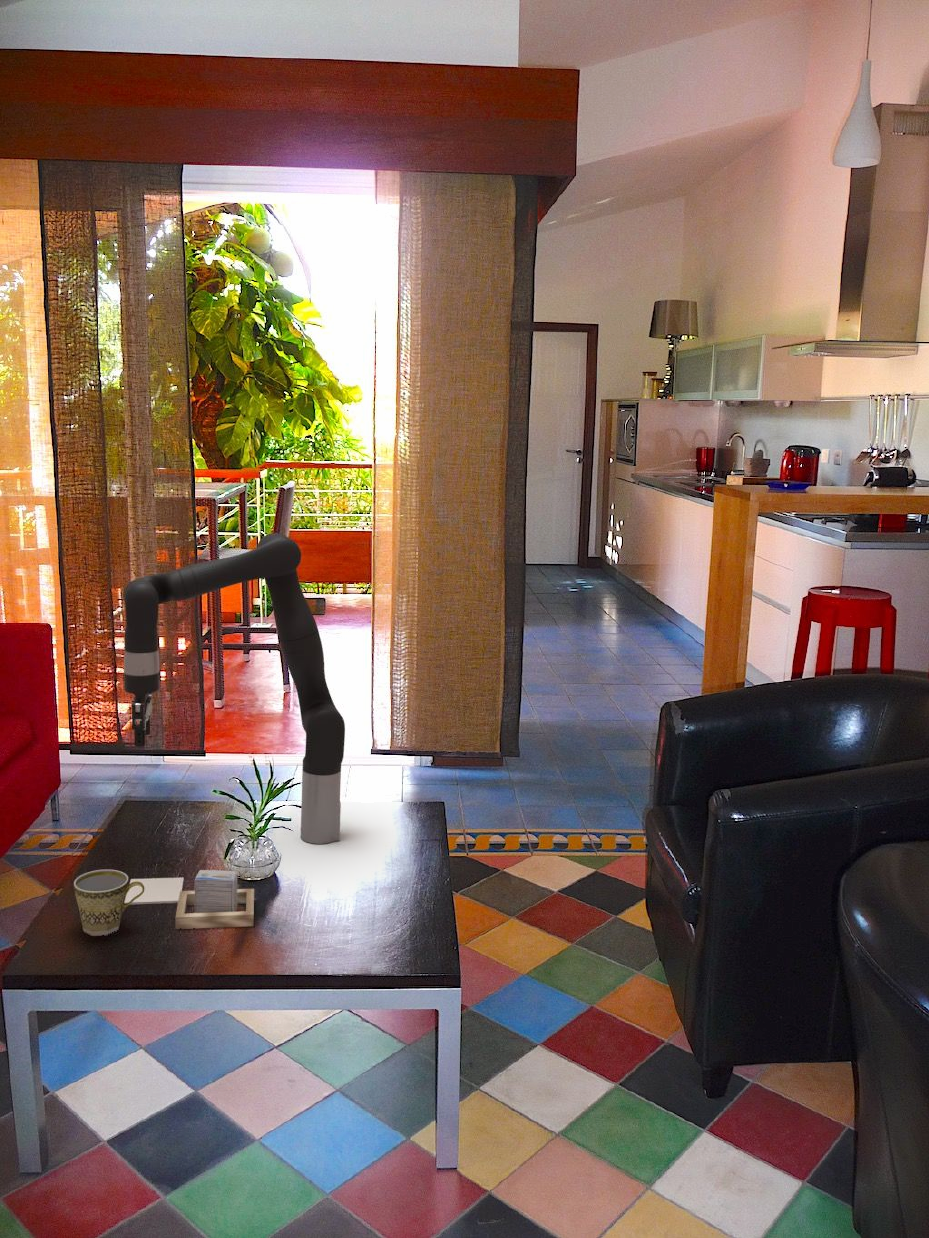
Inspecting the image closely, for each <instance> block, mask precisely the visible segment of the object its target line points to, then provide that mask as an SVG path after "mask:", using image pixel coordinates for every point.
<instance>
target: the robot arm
mask: <svg viewBox="0 0 929 1238" xmlns="http://www.w3.org/2000/svg"><path fill="white" fill-rule="evenodd" d="M301 561H302V551H301V549H300V547H299V545H298V544H297V542H296V541H295V540H293V538H291V537H289V536H286V535H285V534H282V533H276V532H273V533H272V532H271V533H268V534H265V535H263V537H262V538H260V540H259V541H258V543H257V545H256V547H255V548H253V549H251V550H249V551H246V552H243V553H240V554H237V555H233V556H228V557H224V558H218V559H212V560H207V561H201V562H198V563H197V562H196V563H193V564H189V565H186V566H183V567H180V568H177V569H173V570H171V571H168V572H163V573H156V574H152V575H148V576H143V577H139V578H136V579H133V580H131V581H129V582H128V583H127V584H126V585H125V587H124V589H123V593H122V597H123V601H124V608H125V609H124V610H125V626H126V627H125V629H124V656H123V689H124V691H125V692H126V693H127V694H130V695H131V694H133V695H134V697H133V700H132V701H131V730H132V731H134V732H133V733H134V734H133V735H134V736H133V737H134V741H133V742H134V746H135V747H136V748H139V747H145V746H146V736H149V735H150V734H151V718H152V713H153V694H154V693H157V692H159V691H160V654H159V634H158V621H159V606H160V605H161V604H162V605H163V604H165V603H169V602H182V601H187V600H189V599H193V598H196V597H199V596H203V595H206V594H208V593H212V592H214V591H218V590H221V589H224V588H227V587H231V586H234V585H238V584H241V583H246V582H250V581H254V580H255V581H256V580H261V579H264V581H265V583H266V586H267V589H268V592H269V595H270V596H269V597H270V599H271V605H272V611H273V616H274V621H275V626H276V629H277V630H276V631H277V634H278V639H279V643H280V646H281V649H282V654H283V657H284V660H285V663H286V665H287V669H288V671H289V674H290V676H291V678H292V680H293V683H294V686H295V688H296V689H295V690H296V693H297V699H298V704H299V710H300V718H301V724H302V729H303V730H304V732H305V750H304V751H305V752H304V756H303V759H302V773H301V777H302V778H301V805H300V806H301V811H300V814H301V815H300V839H301V840H302V841H304V842H306V843H309V844H316V845H317V844H318V845H320V844H321V845H323V844H329V843H330V844H331V843H334V842H339V841H340V836H341V835H340V833H341V813H342V812H341V808H342V805H341V804H342V803H341V784H342V783H341V780H342V764H343V760H344V753H345V740H346V724H345V720H344V717H343V715H341V713H340V712H339V710H338V708H337V707H336V705H335V703H334V701H333V698H332V696H331V692H330V690H329V687H328V684H327V681H326V680H327V679H326V675H325V674H326V672H325V658H324V657H325V655H324V649H323V644H322V639H321V636H320V631H319V627H318V625H317V622H316V618H315V616H314V614H313V612H312V609H311V607H310V605H309V603H308V601H307V599H306V598H305V597H306V596H305V595H304V593H303V590H302V587H301V584H300V581H299V574H298V570H297V569H298V567H299V566H300V564H301ZM138 722H139V724H138Z"/></svg>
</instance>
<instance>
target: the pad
mask: <svg viewBox="0 0 929 1238" xmlns="http://www.w3.org/2000/svg"><path fill="white" fill-rule="evenodd" d="M129 881H130V882H129V884H130V883H132V882H141V883H142V884H143V885H144V892H143V894H142V895H141V896H140V897H138V898H137V899H135V900H134V901H133V902H132V903H131V904H130V905H132V906H133V905H157V904H158V905H159V904H160V905H161V904H162V905H163V904H178V900H179V894H180V891H183V886H184V881H185V878H184V876H183V877H157V878H155V877H154V878H131V879H130V880H129ZM141 892H142V887H141V886H139V885H137V886H133V887H132V888H130V889H129V891H128V892H127V894H126V895H125V900H124V903H125V904H127V903H129V902H130V901H131V900H132V899H133V898H134V897H136V896H137V895H139V894H140V893H141ZM130 905H129V906H130Z"/></svg>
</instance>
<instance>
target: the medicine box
mask: <svg viewBox="0 0 929 1238" xmlns="http://www.w3.org/2000/svg"><path fill="white" fill-rule="evenodd" d="M237 889H238V871H237V870H217V869H200V870H199V871H198V872H197V874H196V876H195V878H194V891H195V899H194V900H195V905H194V912H193V913H212V912H238V904H237Z"/></svg>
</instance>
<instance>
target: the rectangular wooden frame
mask: <svg viewBox="0 0 929 1238" xmlns="http://www.w3.org/2000/svg"><path fill="white" fill-rule="evenodd" d="M194 899H195V890H182V891H180V894H179V900H178V903H177V908H176V913H175V917H174V918H175V929H174V930H189V929H190V930H191V929H192V930H193V928H195V929H214V928H215V929H216V928H240V927H241V928H242V927H254V917H255V915H254V914H255V913H254V911H255V909H254V908H255V907H254V906H255V904H254V903H255V888H237V905H239V904H246V905H245V911H244V910H243V911H242V910H241V911H236V912H212V913H194V912H192V913H191V912H190V913H189V912H188V913H187V908H188V906H195V900H194ZM180 928H181V929H180Z"/></svg>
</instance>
